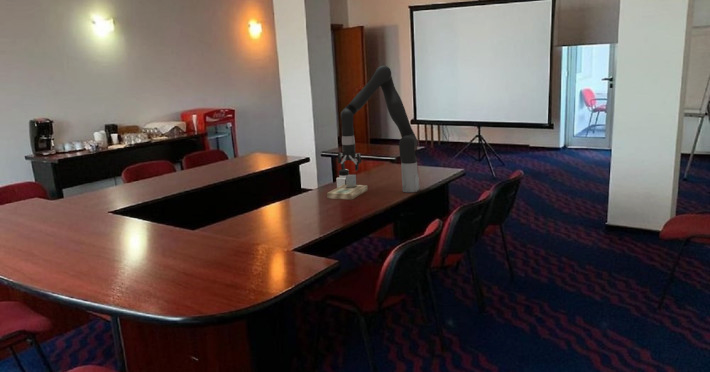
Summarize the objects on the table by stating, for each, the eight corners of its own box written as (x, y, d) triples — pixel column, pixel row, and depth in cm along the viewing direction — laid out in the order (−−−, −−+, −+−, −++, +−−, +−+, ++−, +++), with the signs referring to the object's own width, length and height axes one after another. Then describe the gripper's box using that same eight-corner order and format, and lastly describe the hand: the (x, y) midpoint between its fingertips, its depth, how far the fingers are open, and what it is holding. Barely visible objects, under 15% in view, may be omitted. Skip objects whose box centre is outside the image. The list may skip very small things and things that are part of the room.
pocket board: (367, 191, 339) (367, 184, 338) (352, 201, 320) (352, 193, 319) (343, 190, 346) (343, 184, 345) (327, 199, 326) (326, 192, 325)
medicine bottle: (345, 190, 347) (344, 171, 344) (336, 189, 351) (335, 170, 348) (352, 187, 352) (351, 168, 350) (344, 186, 357) (342, 168, 354)
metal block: (356, 191, 338) (355, 174, 336) (353, 192, 334) (352, 176, 332) (349, 190, 340) (348, 174, 338) (346, 192, 336) (345, 176, 334)
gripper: (362, 142, 331) (363, 169, 335) (340, 142, 337) (342, 168, 341) (356, 144, 325) (358, 172, 328) (334, 144, 330) (336, 171, 334)
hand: (350, 170), depth 335 cm, fingers open, 8 cm apart
